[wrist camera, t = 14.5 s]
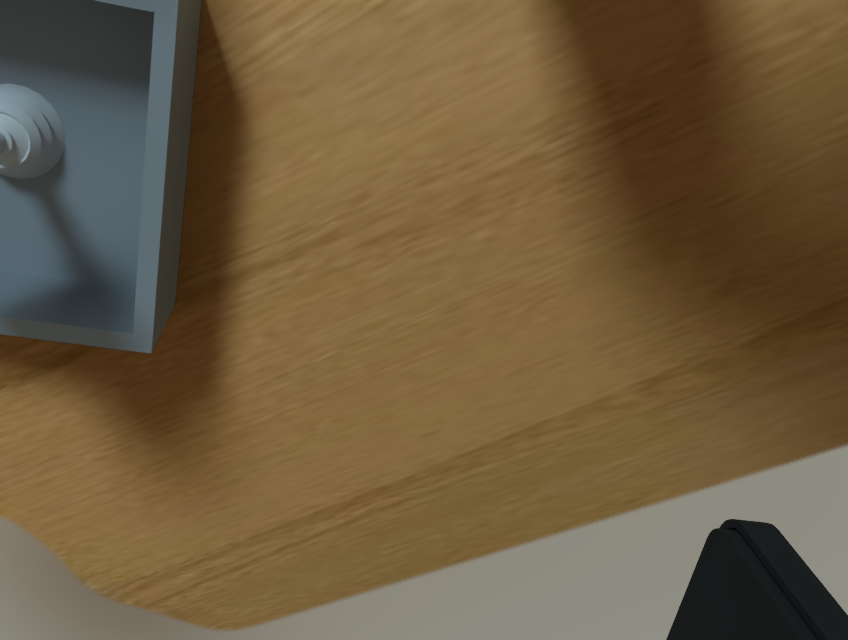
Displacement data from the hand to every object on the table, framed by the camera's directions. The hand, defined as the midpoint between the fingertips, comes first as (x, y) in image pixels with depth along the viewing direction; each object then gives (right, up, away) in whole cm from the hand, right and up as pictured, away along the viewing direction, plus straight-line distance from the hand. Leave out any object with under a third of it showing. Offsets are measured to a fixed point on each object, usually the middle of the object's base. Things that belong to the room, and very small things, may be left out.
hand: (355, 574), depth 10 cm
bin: (-21, +14, +34) cm, 42 cm away
